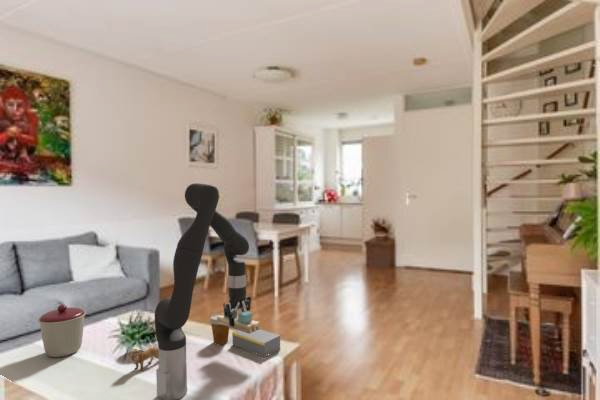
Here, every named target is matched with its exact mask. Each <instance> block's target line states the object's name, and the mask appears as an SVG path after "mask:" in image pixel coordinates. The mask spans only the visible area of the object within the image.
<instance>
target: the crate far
mask: <svg viewBox="0 0 600 400" xmlns="http://www.w3.org/2000/svg"><path fill="white" fill-rule="evenodd" d="M232 310H234V309H232ZM232 313H233V312H232ZM223 314H224V317H225V313H224V312H223ZM231 315H232V314H231ZM237 316H238V311H237V312H236V313H235V316H234V318H235V317H237ZM225 318H228V317H225ZM228 319H229V318H228Z"/></svg>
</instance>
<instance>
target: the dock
mask: <svg viewBox="0 0 600 400" xmlns="http://www.w3.org/2000/svg"><path fill="white" fill-rule="evenodd" d="M231 335H232V346H233V347H237V348H239V347H240V349H242V348H243V349H242V350H244V351H247V350H248V352H250V353H253V352H254V353H253V354H255V353H257V354H256V355H258V354H260V355H259V356H261V355H263V356H266V355H268V354H269V355H271V354H273V353H275V352H277V351H279V350H281V335H280V334H276V333H273V332H270V331H267V330H264V329H261V328H260V330H256V331H255V332H252V333H250V334H249V333H246V332H242V331H239V330H236V329H235V330H234V331H232V332H231ZM269 355H268V356H269ZM263 356H262V357H263ZM266 357H267V356H266Z"/></svg>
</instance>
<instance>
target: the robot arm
mask: <svg viewBox="0 0 600 400" xmlns="http://www.w3.org/2000/svg"><path fill="white" fill-rule="evenodd" d="M219 199H220V194H219V189H218V188H217V186H215V185H214V184H213V185H212V184H207V183H196V182H195V183H190V184H189V185H188V186H187V187H186V189H185V191H184V200H185V202H186V203H187V204H188V206H189V207H190V208H191V209H192V210H194V211H195V212H196V216H195V218H194V220H193V222H192V224H191V225H190V227H189V228H187V230H186V231H185V232H184V233H183V234H182V236H181V237H180V238H179V239H178V242H177V245H176V249H175V252H174V256H173V263H172V266H173V267H172V269H173V289H172V293H171V297H166V298H163V299H161V300H160V301H159V302H158V303H157V305H156V307H155V311H154V329H155V332H156V339H157V346H158V347H157V349H158V355H159V359H158V361H159V363H158V368H156V373H155V375H156V396H157V397H158V398H159V399H161V400H178V399H181V398H183V397H185V395H187V394H188V378H187V377H188V374H187V373H188V371H187V366H188V365H187V336H186V334H185V333H184V331H183V327H184V326H185V325H186V323H187V322H188V320H189V317H190V314H191V312H190V311H191V309H192V308H191V307H192V302H193V301H192V300H193V295H194V294H193V293H194V289H195V284H196V281H197V276H198V271H199V268H200V264H201V262H202V261H201V260H202V257H203V254H204V253H203V252H204V248H205V245H206V240H207V237H208V235H209V234H208V233H209V230H210V227H211V228H212V230H213V231H214V232H215V234H216V236H218V238H219V239H220V241H221V242H223V243H224V244H223V251H224V254H225V255H224V256H225V258H226V261H227V265H228V266H227V267H228V278H227V280H228V281H227V286H228V297H229V300H228V302H223V304H222V305H223V314H224V313H225V317H228V318H229V325H230V326H232V327H234V316H235V313H236V312H237V313H238V310H239V309H240V313H242V312H244V311H247V312H250V311H251V307H252V306H251V305H252V304H251V303H252V297H251V296H248V295H247V277H246V276H247V275H246V262H245V261H244V260H242V259H240V258H238V256H245V255H246V254H248V252H249V250H250V244H249V240H248V239H247V238H246V237H245V236H244V235H243V234H241V233H240V232H238V231H237V230H236V228H235V227H234V225H233V224H232V222H231V221H230V220H229V219H228V218H227V217H226V216H225V215H223V214H222V213H221V212H219V211H218V210H217V206H218V203H219ZM232 309H234V310H232ZM232 312H233V313H232ZM231 314H232V315H231Z"/></svg>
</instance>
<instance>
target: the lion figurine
mask: <svg viewBox="0 0 600 400" xmlns="http://www.w3.org/2000/svg"><path fill="white" fill-rule="evenodd" d="M154 358H155V359H157V360H158V361H157V363H158V364H159V355H158V347H156V346H155V347H153V348H149V349H148V350H146V351H142V350H137V349H134V350H133V349H132V350H131V351H130V352H129V361H130V362H131V363H132V364H134V365H135V368H134V370H138V369H139V366H140V369H139V371H140V372H143V371H144V361H147V360H148V359H150V361H148V362H147V364H152V362H153V361H154Z"/></svg>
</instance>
